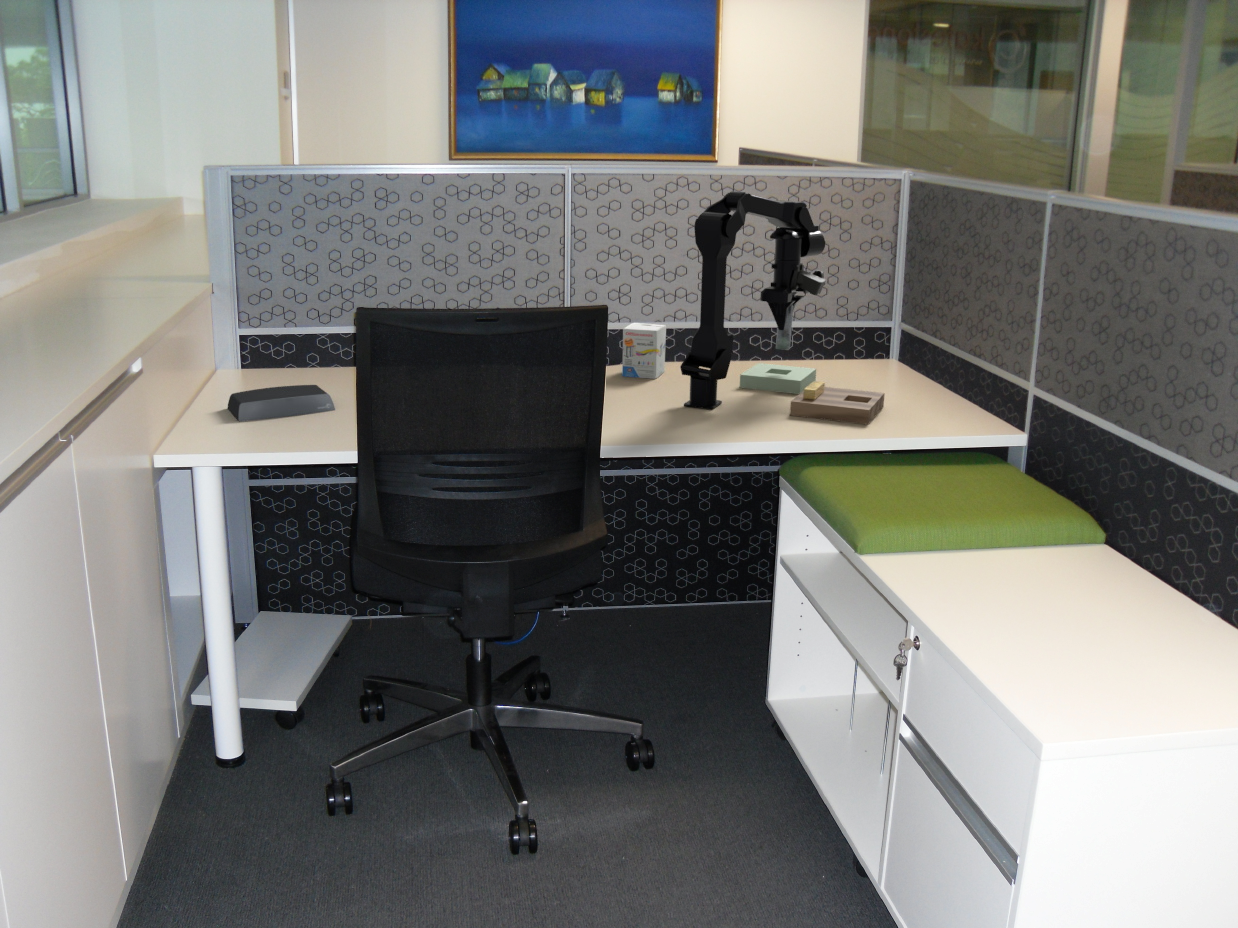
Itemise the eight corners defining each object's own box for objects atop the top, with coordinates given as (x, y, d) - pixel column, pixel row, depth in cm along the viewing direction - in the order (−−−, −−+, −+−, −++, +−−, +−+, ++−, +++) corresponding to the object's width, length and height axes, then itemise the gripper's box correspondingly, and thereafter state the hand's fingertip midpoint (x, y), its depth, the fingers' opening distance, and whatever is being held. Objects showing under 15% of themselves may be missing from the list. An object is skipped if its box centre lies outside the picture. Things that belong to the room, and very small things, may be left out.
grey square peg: (787, 350, 239) (791, 306, 236) (774, 349, 240) (777, 305, 237) (791, 347, 242) (794, 304, 239) (777, 346, 243) (781, 303, 240)
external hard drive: (337, 413, 218) (335, 394, 217) (239, 425, 209) (237, 404, 208) (320, 399, 229) (319, 381, 228) (226, 410, 220) (224, 390, 218)
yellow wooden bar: (814, 399, 218) (815, 390, 217) (803, 398, 219) (803, 389, 218) (824, 391, 225) (824, 382, 224) (812, 390, 226) (813, 381, 225)
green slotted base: (799, 394, 236) (800, 380, 235) (739, 387, 241) (740, 374, 240) (815, 381, 248) (816, 368, 247) (757, 375, 253) (758, 363, 252)
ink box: (621, 376, 251) (621, 327, 247) (631, 369, 258) (631, 321, 255) (656, 379, 248) (657, 330, 245) (665, 372, 256) (666, 323, 253)
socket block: (868, 424, 212) (869, 410, 211) (790, 415, 218) (790, 401, 217) (883, 406, 226) (884, 392, 225) (809, 398, 232) (810, 385, 231)
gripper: (812, 265, 224) (807, 338, 229) (833, 256, 240) (828, 325, 245) (761, 262, 228) (757, 334, 233) (785, 254, 244) (782, 321, 249)
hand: (783, 328), depth 240 cm, fingers closed on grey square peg, 3 cm apart
